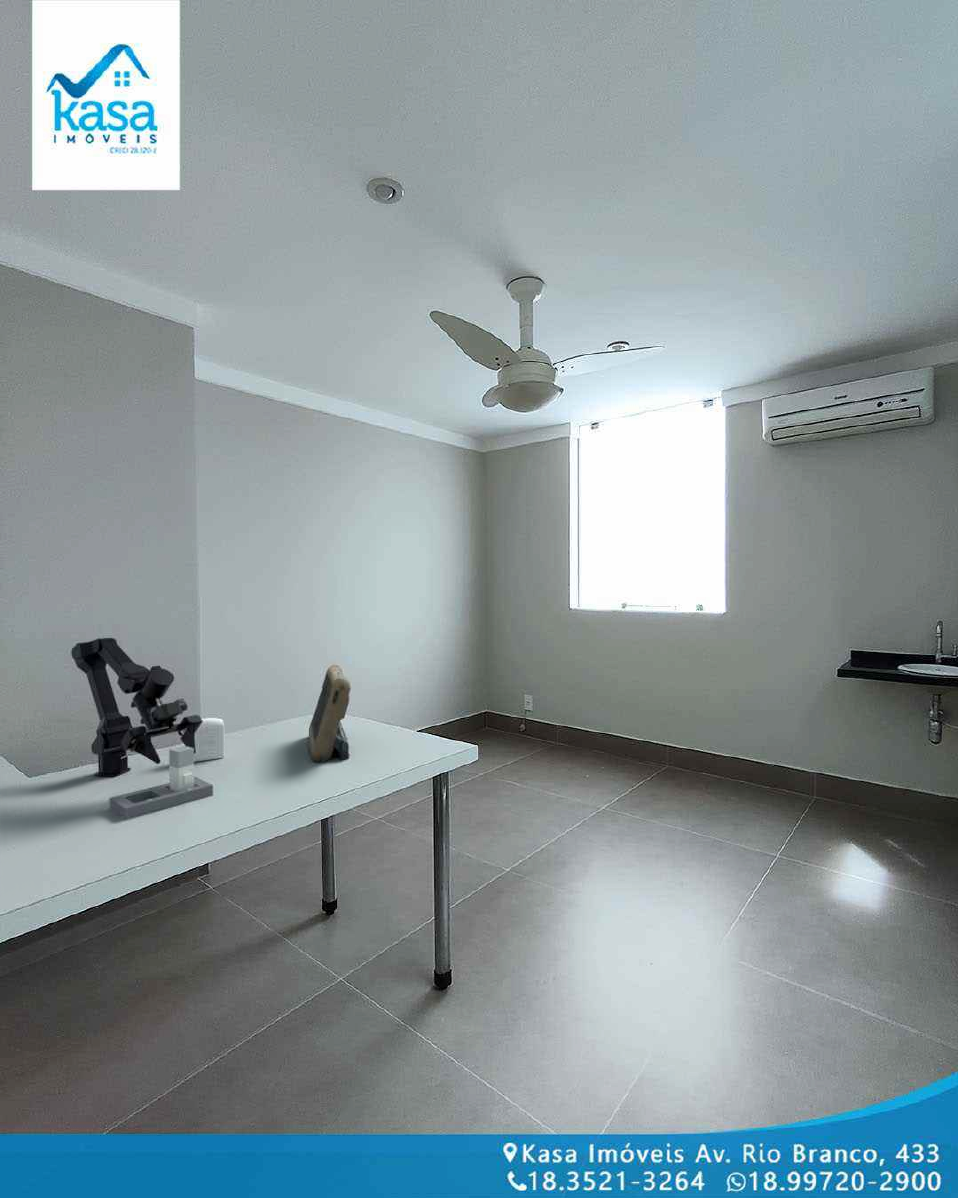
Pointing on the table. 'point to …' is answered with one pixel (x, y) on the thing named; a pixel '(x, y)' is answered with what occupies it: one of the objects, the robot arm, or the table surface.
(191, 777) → the plug
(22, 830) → the table surface
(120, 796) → the socket plate
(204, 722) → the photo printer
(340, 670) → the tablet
